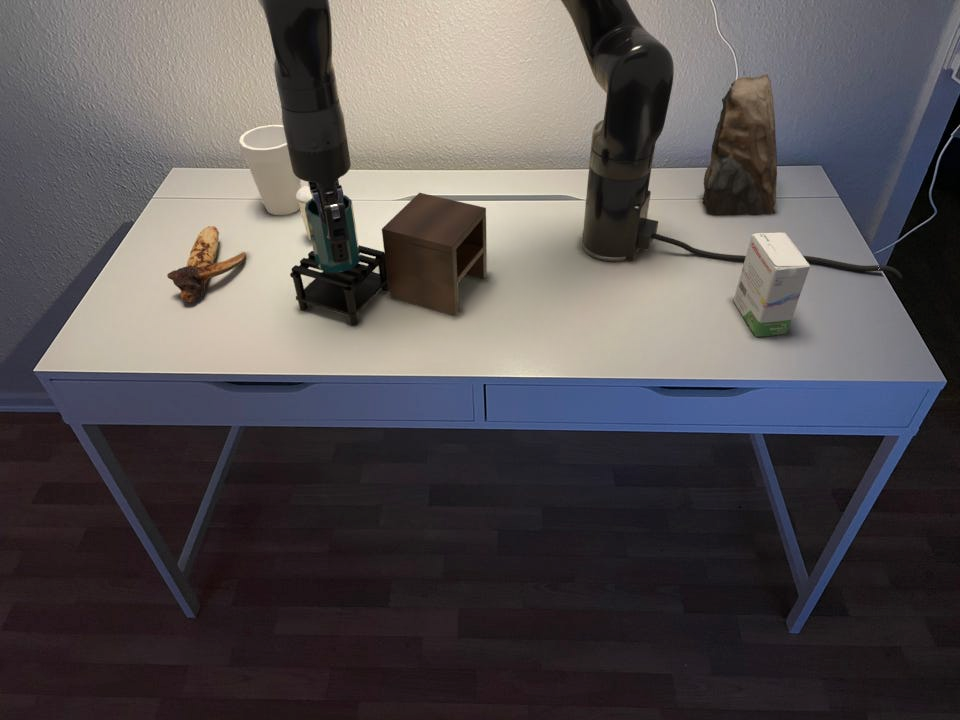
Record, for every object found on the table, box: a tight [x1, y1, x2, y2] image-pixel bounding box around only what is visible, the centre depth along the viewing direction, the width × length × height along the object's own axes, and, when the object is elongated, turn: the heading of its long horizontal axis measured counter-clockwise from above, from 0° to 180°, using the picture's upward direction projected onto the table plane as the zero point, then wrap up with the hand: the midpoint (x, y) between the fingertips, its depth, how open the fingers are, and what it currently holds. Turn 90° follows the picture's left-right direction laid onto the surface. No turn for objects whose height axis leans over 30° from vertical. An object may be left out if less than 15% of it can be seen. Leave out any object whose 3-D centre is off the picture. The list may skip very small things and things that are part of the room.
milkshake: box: [296, 185, 312, 242], centre depth 117 cm, size 4×5×10 cm
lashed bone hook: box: [166, 226, 246, 303], centre depth 112 cm, size 9×5×18 cm
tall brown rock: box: [701, 73, 778, 216], centre depth 121 cm, size 13×13×20 cm
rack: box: [289, 244, 389, 327], centre depth 106 cm, size 10×10×7 cm
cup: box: [305, 194, 361, 273], centre depth 100 cm, size 6×6×9 cm
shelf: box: [381, 192, 488, 317], centre depth 106 cm, size 11×11×12 cm
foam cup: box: [238, 124, 302, 216], centre depth 124 cm, size 10×9×13 cm
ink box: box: [732, 231, 811, 338], centre depth 99 cm, size 8×5×12 cm, turn 6°
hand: (336, 247), depth 102 cm, fingers open, 6 cm apart
